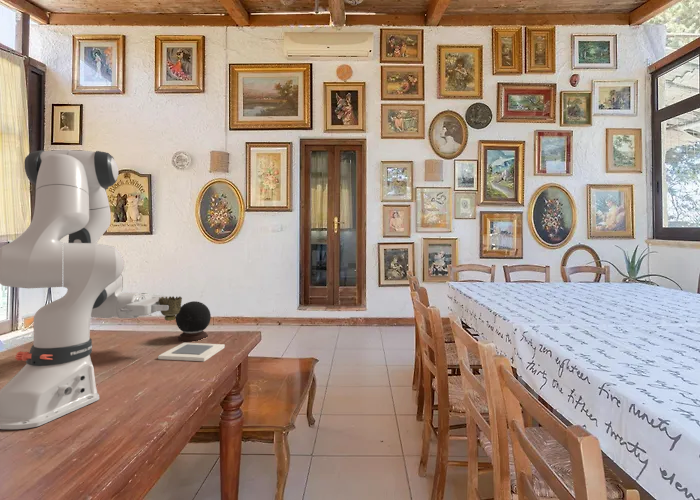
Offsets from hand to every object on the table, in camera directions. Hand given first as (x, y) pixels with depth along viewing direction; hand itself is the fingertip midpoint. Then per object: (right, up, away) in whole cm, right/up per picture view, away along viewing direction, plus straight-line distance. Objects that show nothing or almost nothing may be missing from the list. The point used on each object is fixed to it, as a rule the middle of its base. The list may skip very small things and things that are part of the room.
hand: (173, 305), depth 131 cm
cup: (-1, -5, 0) cm, 5 cm away
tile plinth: (+7, -17, 0) cm, 18 cm away
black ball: (-1, -16, +20) cm, 26 cm away
